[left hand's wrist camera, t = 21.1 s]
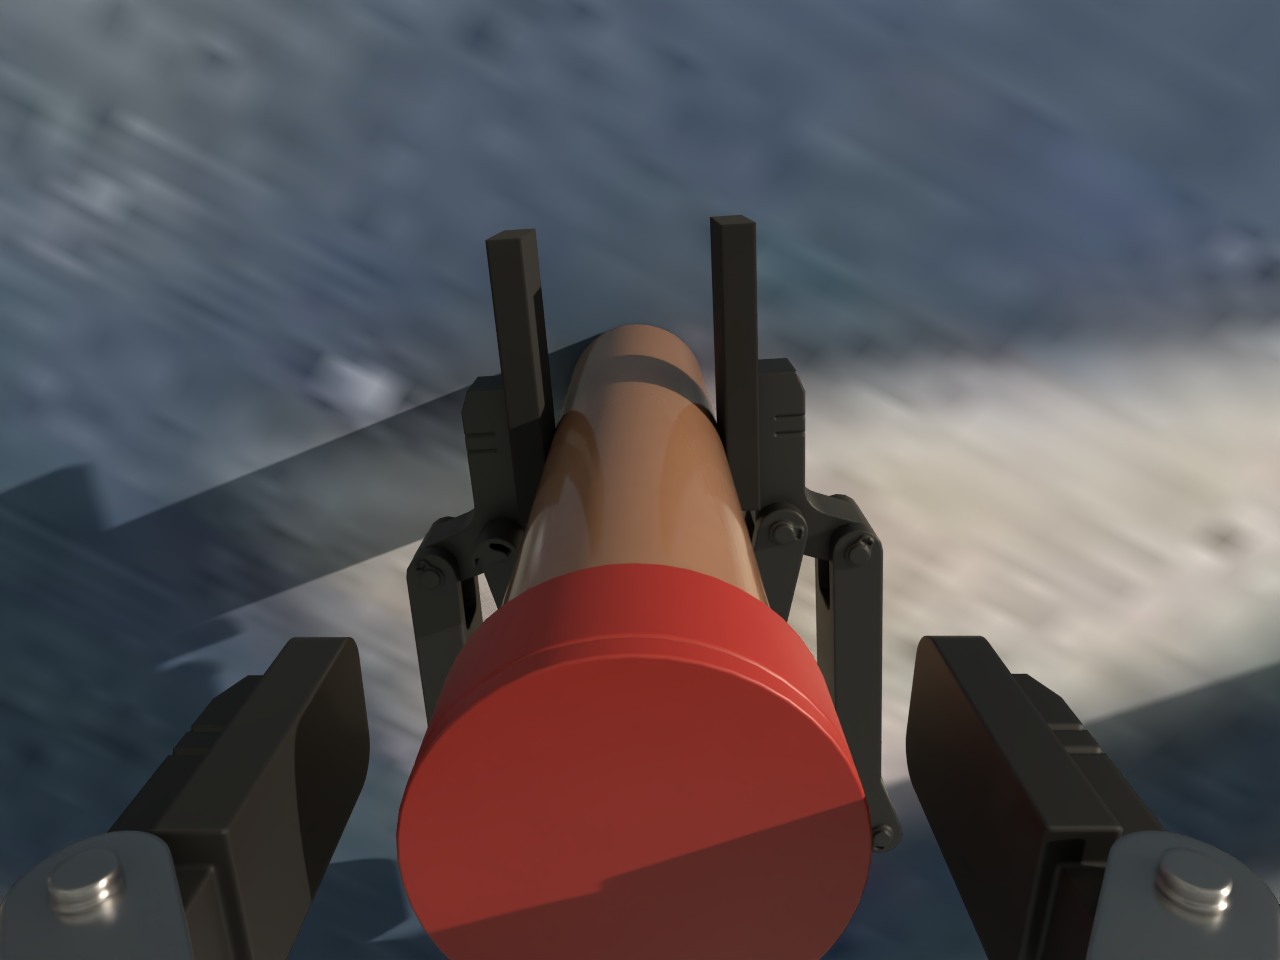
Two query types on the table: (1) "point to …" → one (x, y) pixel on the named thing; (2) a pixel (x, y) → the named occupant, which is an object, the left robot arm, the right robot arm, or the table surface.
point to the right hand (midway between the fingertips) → (621, 229)
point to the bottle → (636, 471)
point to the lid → (634, 781)
